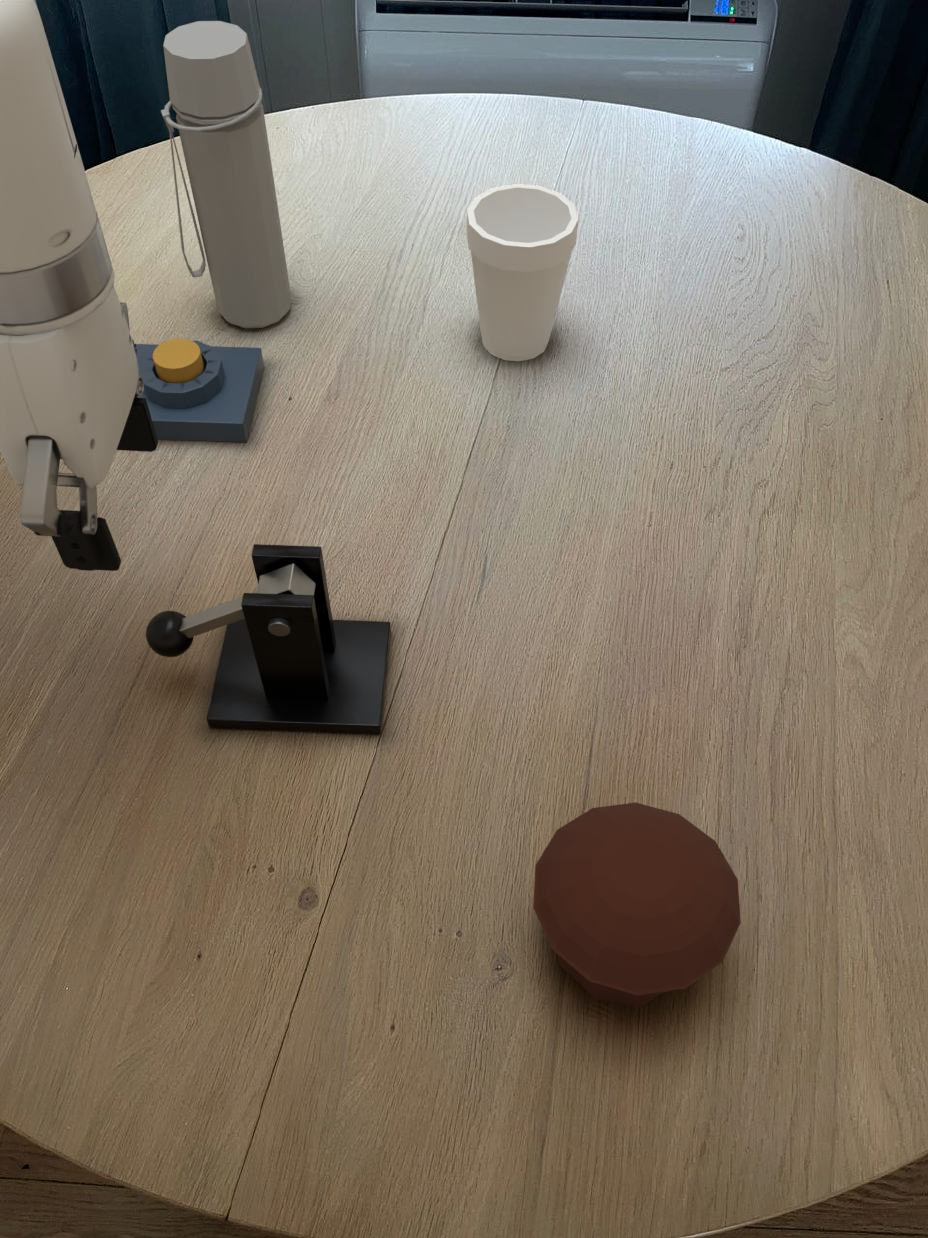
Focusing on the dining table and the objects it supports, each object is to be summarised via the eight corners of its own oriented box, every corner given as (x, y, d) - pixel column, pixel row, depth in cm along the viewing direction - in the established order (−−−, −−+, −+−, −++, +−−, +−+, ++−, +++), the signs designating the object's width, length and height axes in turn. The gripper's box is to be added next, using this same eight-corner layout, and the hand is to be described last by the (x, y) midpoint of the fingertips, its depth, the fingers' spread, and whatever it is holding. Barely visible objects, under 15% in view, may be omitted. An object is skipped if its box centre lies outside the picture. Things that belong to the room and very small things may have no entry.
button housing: (108, 438, 90) (96, 402, 87) (135, 362, 96) (123, 326, 93) (247, 442, 90) (239, 407, 86) (264, 366, 96) (258, 330, 92)
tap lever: (164, 670, 72) (130, 647, 70) (173, 633, 74) (141, 609, 72) (314, 619, 67) (284, 592, 64) (320, 580, 69) (291, 552, 66)
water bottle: (284, 279, 104) (243, 11, 83) (302, 326, 99) (263, 56, 79) (191, 296, 102) (127, 27, 82) (205, 345, 97) (141, 73, 77)
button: (152, 383, 89) (147, 367, 87) (162, 353, 91) (157, 337, 90) (199, 385, 89) (195, 369, 87) (207, 354, 91) (204, 338, 90)
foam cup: (546, 382, 95) (558, 257, 84) (451, 358, 96) (451, 233, 86) (576, 321, 100) (590, 196, 90) (485, 299, 102) (489, 174, 91)
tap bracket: (209, 728, 73) (173, 629, 63) (231, 625, 78) (200, 518, 68) (380, 735, 72) (370, 636, 63) (391, 630, 78) (382, 525, 68)
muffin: (690, 839, 68) (722, 765, 60) (741, 1012, 61) (784, 955, 53) (511, 863, 67) (519, 790, 59) (543, 1041, 60) (557, 987, 52)
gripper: (3, 157, 55) (90, 403, 68) (-121, 377, 44) (10, 615, 58) (146, 164, 55) (203, 409, 68) (54, 386, 44) (143, 622, 58)
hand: (114, 503), depth 63 cm, fingers open, 9 cm apart
